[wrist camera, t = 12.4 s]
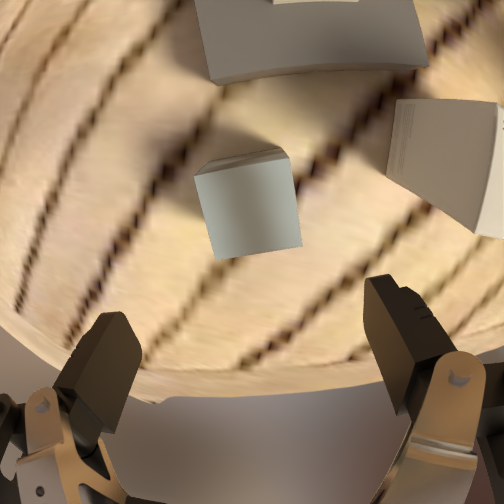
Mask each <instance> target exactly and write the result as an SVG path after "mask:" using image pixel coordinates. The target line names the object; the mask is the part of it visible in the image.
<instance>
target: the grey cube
mask: <svg viewBox="0 0 504 504" xmlns="http://www.w3.org/2000/svg"><path fill="white" fill-rule="evenodd" d="M194 180H195V184H196V188H197V192H198V196H199V200H200V204H201V208H202V211H203V215H204V219H205V223H206V227H207V230H208V234H209V238H210V241H211V245H212V249H213V252H214V256H215V259H216V260H222V259H228V258H234V257H240V256H247V255H253V254H259V253H265V252H271V251H277V250H284V249H290V248H296V247H302V238H301V231H300V223H299V216H298V209H297V202H296V196H295V189H294V183H293V176H292V170H291V164H290V158H289V157H288V155H287V154H286V153H285V151H284V150H283V149H282V148H278V149H272V150H266V151H260V152H255V153H249V154H244V155H239V156H234V157H229V158H224V159H219V160H215V161H210V162H208V163H207V164H206V165H205V166H204V167H203V168H202V169H201V170H200V171H199V172H198V173H196V174H195V175H194Z"/></svg>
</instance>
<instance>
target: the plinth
mask: <svg viewBox="0 0 504 504" xmlns="http://www.w3.org/2000/svg"><path fill="white" fill-rule="evenodd" d="M194 2H195V7H196V12H197V17H198V22H199V27H200V32H201V36H202V41H203V46H204V51H205V56H206V61H207V66H208V71H209V75H210V80H211V81H212V82H214V83H215V84H216V85H218V86H222V85H227V84H231V83H237V82H242V81H247V80H253V79H259V78H266V77H273V76H280V75H288V74H297V73H307V72H320V71H337V70H396V71H408V70H413V69H418V68H423V67H428V66H429V62H428V57H427V52H426V47H425V43H424V39H423V35H422V31H421V27H420V24H419V20H418V16H417V13H416V10H415V7H414V3H413V0H359V1H358V2H340V1H319V2H296V3H283V4H273V2H272V0H194Z"/></svg>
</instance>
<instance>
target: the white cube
mask: <svg viewBox="0 0 504 504" xmlns="http://www.w3.org/2000/svg"><path fill="white" fill-rule="evenodd" d="M319 1H340V2H358V1H359V0H272V2H273V4H283V3H296V2H319Z"/></svg>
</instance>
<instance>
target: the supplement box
mask: <svg viewBox="0 0 504 504" xmlns="http://www.w3.org/2000/svg"><path fill="white" fill-rule="evenodd" d="M386 177H387V178H388V179H390V180H392V181H393V182H395V183H397V184H399V185H400V186H402V187H404V188H406V189H407V190H409V191H411V192H412V193H414V194H416V195H417V196H419V197H420V198H422V199H424V200H425V201H427V202H429V203H430V204H432V205H433V206H435V207H437V208H438V209H440V210H441V211H443V212H444V213H446V214H447V215H449V216H450V217H452V218H453V219H455V220H456V221H457V222H459V223H460V224H462V225H463V226H464V227H466V228H467V229H469V230H470V231H471V232H473V233H474V234H478V235H482V236H487V237H493V238H498V239H503V240H504V107H502V106H501V105H499V104H498V103H494V102H485V101H473V100H457V99H397V100H396V107H395V115H394V124H393V131H392V138H391V145H390V152H389V158H388V164H387V171H386Z"/></svg>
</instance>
